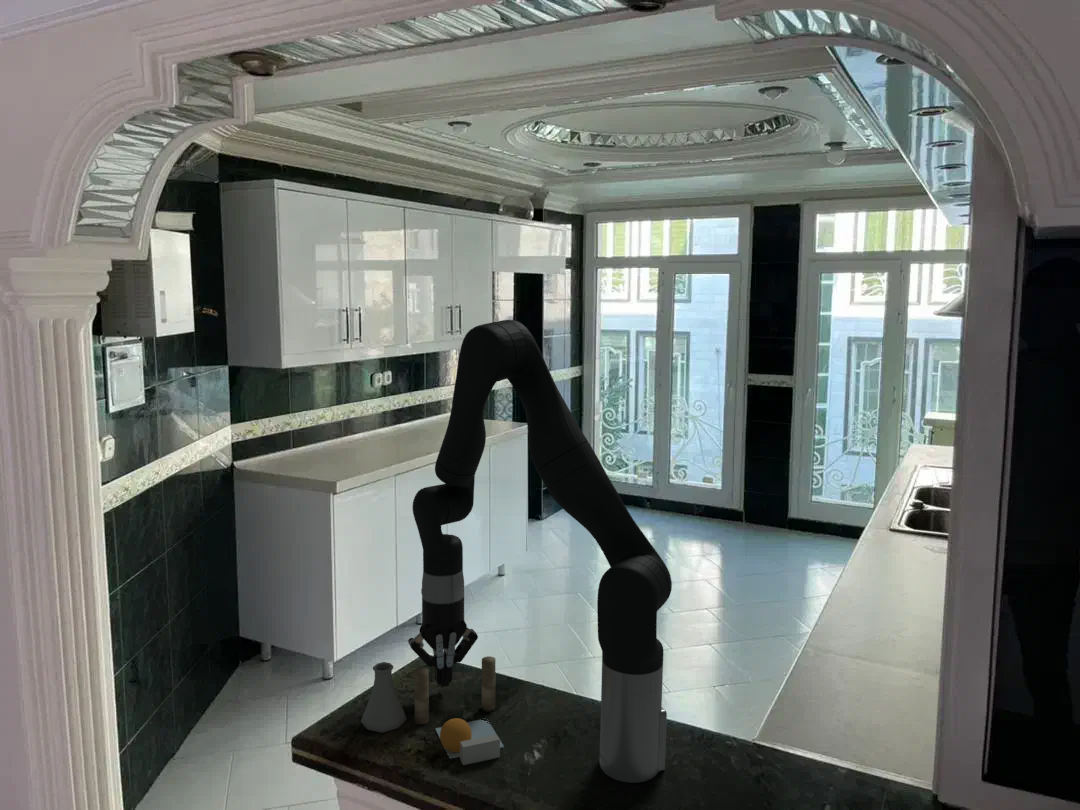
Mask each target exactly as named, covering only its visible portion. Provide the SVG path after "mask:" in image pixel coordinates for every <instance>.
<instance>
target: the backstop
mask: <svg viewBox="0 0 1080 810" xmlns="http://www.w3.org/2000/svg"><path fill="white" fill-rule="evenodd" d="M500 741H501V739H500V737H499V736H498V734H497V733H496V734H495V735H491V736H486V737H481V738H476V739H471V740H466V741H461V742H460V757H459V760H460V762H461V764H462V765H463V766H466V765H471V764H476V763H480V762H485V761H488V760H493V759H498V758H500V757H501V748H500Z"/></svg>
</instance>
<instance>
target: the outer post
mask: <svg viewBox="0 0 1080 810" xmlns="http://www.w3.org/2000/svg"><path fill="white" fill-rule="evenodd" d="M413 673H414V674H413V676H414V677H413V678H414V679H413V680H414V681H413V683H414V685H413V686H414V690H413V691H414V692H413V693H414V694H413V695H414V723H415V724H417V725H426V724H428V723H429V721H430V703H429V702H430V698H429V697H430V696H429V695H430V691H429V690H430V688H429V687H430V685H429V680H430V679H429V677H430V676H429V675H430V673H429V669H428V668H427V667H418V668H415V669H414V670H413Z"/></svg>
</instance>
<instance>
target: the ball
mask: <svg viewBox="0 0 1080 810" xmlns="http://www.w3.org/2000/svg"><path fill="white" fill-rule="evenodd" d="M467 722H468V721H466V720H465V719H462V718H460V717H459V718H457V717H455V718H451V719H448V720H447V721H446V722H444V724H443V725H442V729H441V732H440V738H439V740H440V744H441V745H442V747H443V749H445V748H446V749H447V750H448V751H451V752H460V742H461V741H466V740H471V736H472V733H471V728H470V726H469V725H468V723H467Z"/></svg>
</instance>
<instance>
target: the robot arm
mask: <svg viewBox="0 0 1080 810" xmlns="http://www.w3.org/2000/svg"><path fill="white" fill-rule="evenodd" d="M504 380H507V381H508V382H509V383H510V384H511V386H512V388H513V390H514V391H515V392H516V395H517V396H518V399H519V400H520V403H521V404H522V408H523V409H524V413H525V417H526V425H527V427H526V429H527V436H528V437H527V439H528V440H527V441H528V450H529V455H530V459H531V462H532V464H533V466H534V468H535V470H536V472H537V474H538V475H539V477H540V480H541V481H542V482H543V484H544V486H545V488H546V490H547V491H548V493H549V494H550V496H551V497H552V499H553V500H554V501H555V502H556V503H557V505H558V506H560V507H561V509H562V510H563V511H565V512H566V513H567V514H568V515H569V516H570V517H572V518H573V519H574V520H575V521H577V522H578V523H579V524H580V525H581V526H582V527H583V528H584V529H585V530H587V531H588V533H589V534H590V535H591V536H592V538H593V539H594V540H595V542H596V543H597V544H598V546H599V548H600V549H601V551H602V554H603V555H604V557H605V559H606V561H607V563H608V565H609V567H610V568H608V569H607V570H606V571H605V572H604V574H603V575H602V576H601V578H600V580H599V584H598V587H597V588H598V589H597V597H596V598H597V605H596V606H597V607H596V608H597V611H596V612H597V614H596V615H597V639H598V645H599V646H600V648H601V686H600V687H601V692H600V693H601V694H600V695H601V696H600V697H601V699H600V729H599V730H600V732H599V733H600V734H599V735H600V737H599V752H598V753H599V767H600V769H601V772H603V773H604V774H605V776H608V777H610V778H612V779H614V780H616V781H619V782H622V783H628V784H629V783H633V784H637V783H643V782H647V781H649V780H651V779H653V778H655V776H657V774H658V773H659V772H661V771H664V770H665V769H666V768H665V767H666V750H667V749H666V746H667V717H668V716H667V715H668V713H667V710H666V709H665V708H663V707H662V706H663V704H662V701H663V679H664V678H663V677H664V676H663V675H664V646H663V644H662V642H661V641H660V640H659V639H658V638H657V633H658V632H657V630H658V629H657V625H658V623H657V622H658V621H657V620H658V616H657V615H658V611H659V610H660V609H661V608H662V607H664V605H665V603H666V602H667V601H668V600H669V598H670V596H671V593H672V588H673V584H672V583H673V582H672V578H671V577H672V576H671V574H670V570H669V569H668V567H667V565H666V563H665V562H664V560H663V559H662V557H661V556H660V554H659V553H658V551H657V550H656V549H655V547H654V546H653V545H652V544H651V542H650V541H649V539H648V538H647V537H646V535H645V534H644V532H643V531H642V529H641V528H640V527H639V525H638V524H637V523H636V521H635V520H634V518H633V517H632V515H631V514H630V512H629V510H628V509H627V507H626V505H625V503H624V501H623V499H622V497H621V496H620V494H619V493H618V491H617V489H616V488H615V486H614V484H613V483H612V481H611V479H610V478H609V475H608V474H607V472H606V470H605V469H604V467H603V465H602V463H601V461H600V460H599V458H598V456H597V453H595V451H594V449H593V447H592V446H591V444H590V442H589V441H588V439H587V437H586V436H585V433H583V431H582V429H581V428H580V426H579V424H578V423H577V421H576V419H575V417H574V416H573V414H572V412H571V410H570V409H569V406H568V405H567V403H566V401H565V399H564V397H563V396H562V394H561V392H560V390H559V388H558V387H557V384H556V382H555V381H554V378H553V377H552V374H551V372H550V370H549V367H548V366H547V363H546V361H545V359H544V356H543V354H542V352H541V349H540V347H539V345H538V343H537V341H536V340H535V338H534V336H533V334H532V333H531V331H529V329H528V327H526V326H525V325H524V324H523V323H521V322H520V321H518V320H514V319H502V320H497V321H492V322H488V323H484V324H480V325H476V326H474V327H472V328H471V329H470V330H468V332H467V333H466V334H465V335H464V337H463V340H462V343H461V346H460V349H459V355H458V360H457V368H456V376H455V382H454V386H453V387H454V388H453V395H452V401H451V409H450V414H449V415H450V416H449V420H448V424H447V427H446V429H445V430H446V431H445V433H444V437H443V440H442V442H441V445H440V449H439V452H438V455H437V458H436V461H435V465H434V473H435V475H436V477H437V478H438V480H439V481H441V482H442V484H436V485H431V486H430V485H429V486H425V487H423V488H421V489H419V490H418V491H417V493H415V496H414V498H413V502H412V505H411V506H412V508H411V509H412V514H413V518H414V521H415V524H416V528H417V531H418V535H419V539H420V542H421V547H422V562H423V563H422V577H421V578H422V579H421V592H420V593H421V621H422V622H421V626H420V627H419V633H418V634H417V635H415V637H410V638H409V639H408V641H407V643H408V645H409V646H410V648H411V650H412V651H413V652H414V653H415V654H416V655H417V656H418V657H419V658H420V659H421V660H422V661H423V662H424V664H426V665H427V667H428V668H432V667H434V680H435V682H436V684H437V685H438V686H439V687H440V688H445V687H449V686H450V683H451V682H453V666H454V664H456V663H461V662H463V660H464V659H465V657H466V655H467V654H468V653H469V651H470V650H471V649H472V647H473V645H474V644H475V643H476V642H477V640H478V638H479V636H478V633H476V631H475V630H474V629H473V628H469V627H468V626H467V623H466V622H465V621H466V620H465V578H464V577H465V576H464V564H463V563H464V560H463V559H464V555H463V553H464V552H463V551H464V548H463V547H464V546H463V542H462V540H461V538H460V537H459V536H457V535H454V534H449V533H443V532H442V526H444V525H448V524H449V525H450V524H453V523H454V524H455V523H457V522H460V521H461V522H462V521H463V520H465V519H466V518H467V517H468V516H469V515H470V513H471V512H472V510H473V507H474V499H475V498H474V497H475V479H476V478H475V477H476V476H475V475H476V472H477V470H478V467H479V464H480V462H481V460H482V456H483V453H484V450H485V446H486V442H487V441H486V439H487V437H486V436H487V433H486V432H487V431H486V424H485V418H484V415H485V414H484V411H485V407H486V402H487V400H488V398H489V396H490V394H491V391H492V390H493V388H494V386H495V385H496V383H497V382H500V381H504ZM424 641H425V642H426V644H427V645H428V646H429V647H430V648H431V649H432V654H433V656H431V655H430V654H429V653H428V652H427V651H426V649H424V646H425V644H424Z"/></svg>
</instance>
